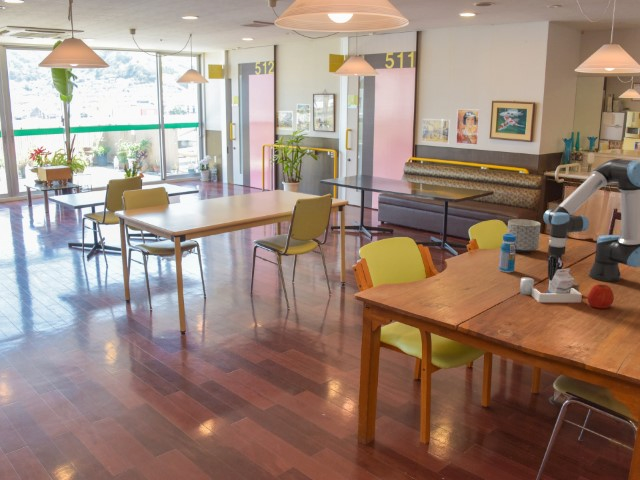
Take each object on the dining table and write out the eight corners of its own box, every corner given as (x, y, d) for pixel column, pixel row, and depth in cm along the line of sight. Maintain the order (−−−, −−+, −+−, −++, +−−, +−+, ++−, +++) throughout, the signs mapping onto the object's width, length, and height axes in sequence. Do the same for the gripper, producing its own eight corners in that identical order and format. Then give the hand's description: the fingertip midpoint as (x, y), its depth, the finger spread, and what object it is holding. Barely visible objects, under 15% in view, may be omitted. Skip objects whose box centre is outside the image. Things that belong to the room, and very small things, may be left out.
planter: (500, 247, 385) (503, 219, 380) (529, 247, 387) (532, 219, 382) (513, 255, 366) (516, 225, 362) (543, 254, 368) (546, 225, 364)
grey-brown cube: (571, 291, 301) (572, 281, 300) (578, 294, 296) (579, 284, 295) (562, 292, 299) (563, 282, 298) (569, 295, 295) (570, 285, 293)
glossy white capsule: (529, 291, 300) (531, 277, 298) (534, 295, 294) (535, 281, 292) (517, 290, 300) (519, 277, 298) (522, 294, 294) (523, 281, 292)
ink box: (552, 300, 287) (563, 275, 279) (545, 294, 290) (556, 269, 282) (566, 298, 290) (577, 273, 282) (559, 292, 293) (570, 267, 286)
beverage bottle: (497, 271, 332) (500, 236, 327) (499, 267, 339) (502, 232, 334) (513, 273, 329) (517, 237, 324) (515, 269, 336) (518, 234, 331)
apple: (610, 312, 272) (613, 289, 270) (584, 307, 278) (587, 285, 275) (613, 305, 281) (616, 283, 279) (588, 301, 287) (591, 279, 284)
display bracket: (572, 296, 293) (573, 288, 292) (580, 302, 284) (581, 294, 283) (531, 295, 293) (532, 287, 292) (538, 302, 284) (539, 294, 283)
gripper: (544, 241, 293) (538, 288, 299) (554, 248, 281) (549, 297, 287) (559, 242, 294) (553, 288, 299) (570, 249, 281) (564, 297, 287)
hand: (551, 292), depth 293 cm, fingers closed
